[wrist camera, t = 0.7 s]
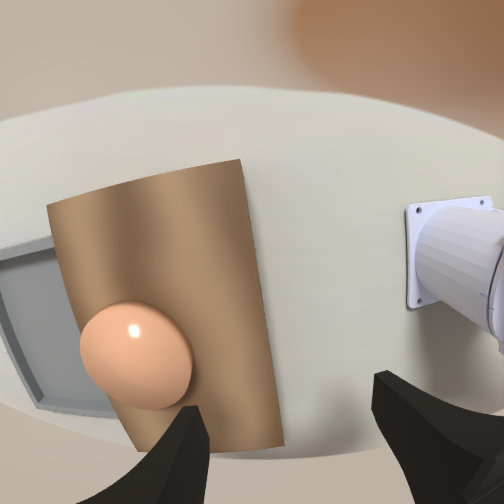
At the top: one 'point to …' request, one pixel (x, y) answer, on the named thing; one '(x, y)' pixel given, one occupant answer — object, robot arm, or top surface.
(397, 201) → the top surface
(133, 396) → the peach rounded disc
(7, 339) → the tray
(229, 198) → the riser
